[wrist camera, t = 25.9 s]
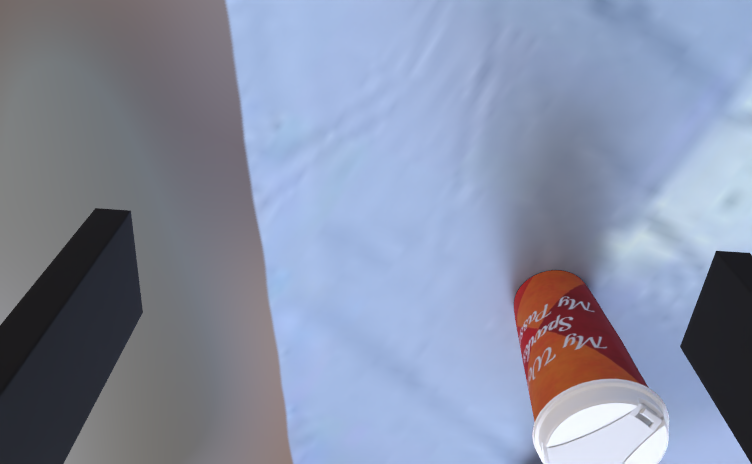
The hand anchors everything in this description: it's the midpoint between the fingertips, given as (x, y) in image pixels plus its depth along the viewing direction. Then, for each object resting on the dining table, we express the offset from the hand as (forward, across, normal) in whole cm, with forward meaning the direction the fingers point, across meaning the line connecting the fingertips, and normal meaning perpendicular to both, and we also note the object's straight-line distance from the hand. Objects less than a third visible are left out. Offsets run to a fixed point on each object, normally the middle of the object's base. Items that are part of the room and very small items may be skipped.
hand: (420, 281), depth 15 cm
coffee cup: (+31, +14, -21) cm, 40 cm away
